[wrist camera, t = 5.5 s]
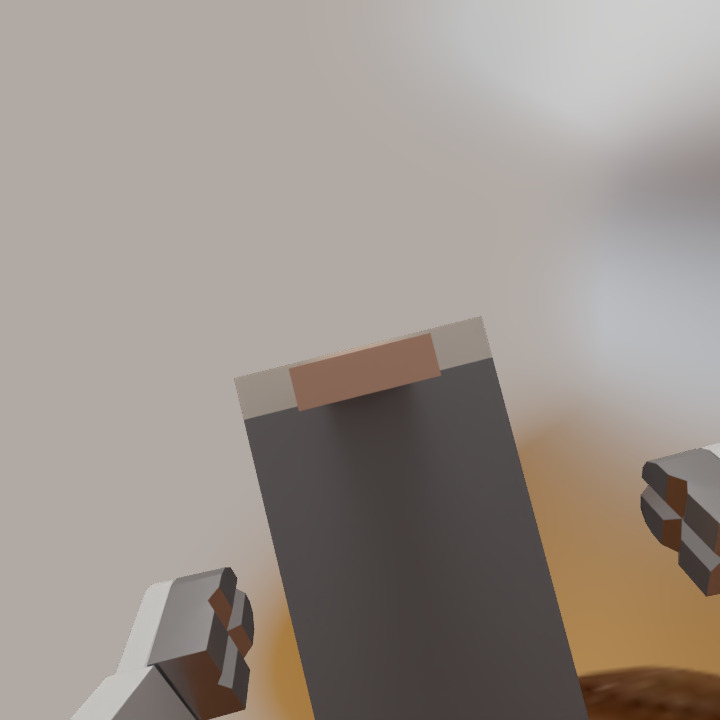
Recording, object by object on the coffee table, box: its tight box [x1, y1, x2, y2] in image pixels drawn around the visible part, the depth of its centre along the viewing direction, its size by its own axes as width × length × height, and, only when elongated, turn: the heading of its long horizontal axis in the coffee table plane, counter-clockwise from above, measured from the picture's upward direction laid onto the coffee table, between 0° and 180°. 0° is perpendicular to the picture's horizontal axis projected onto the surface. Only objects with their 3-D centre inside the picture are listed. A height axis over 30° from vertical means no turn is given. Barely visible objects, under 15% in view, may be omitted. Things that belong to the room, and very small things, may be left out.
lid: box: [234, 316, 492, 420], centre depth 21 cm, size 17×12×2 cm
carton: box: [244, 357, 589, 720], centre depth 25 cm, size 8×12×26 cm, turn 89°
